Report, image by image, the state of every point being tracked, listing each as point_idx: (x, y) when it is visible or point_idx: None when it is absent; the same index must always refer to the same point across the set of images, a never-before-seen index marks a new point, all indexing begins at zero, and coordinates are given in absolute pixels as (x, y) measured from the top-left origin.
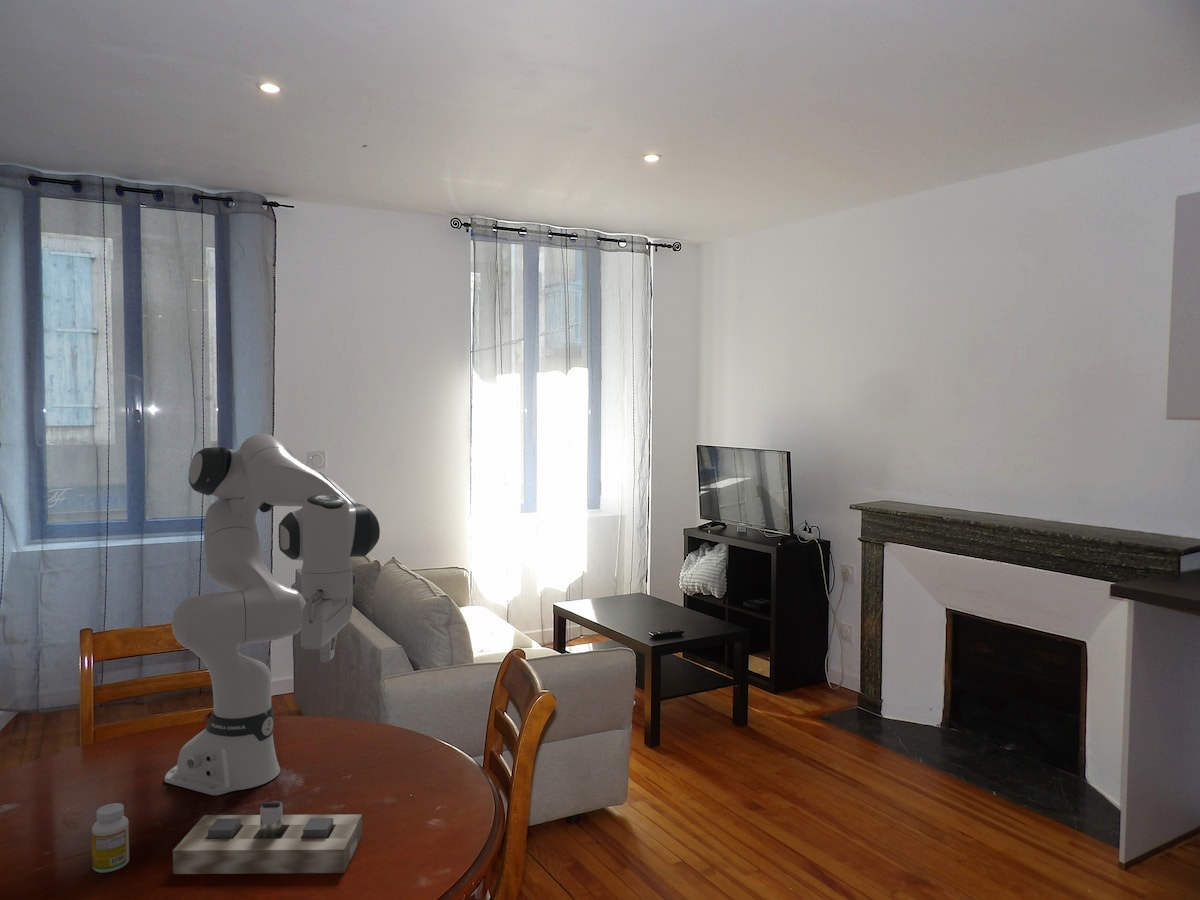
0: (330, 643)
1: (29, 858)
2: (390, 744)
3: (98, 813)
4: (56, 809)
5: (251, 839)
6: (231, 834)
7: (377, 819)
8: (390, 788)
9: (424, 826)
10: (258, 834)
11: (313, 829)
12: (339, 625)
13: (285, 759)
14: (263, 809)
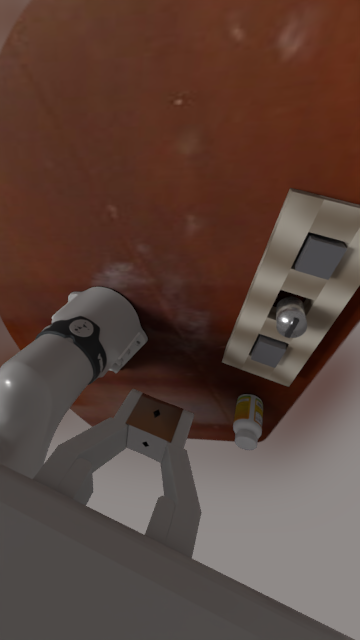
0: (104, 448)
1: (221, 433)
2: (20, 148)
3: (252, 449)
4: None
5: None
6: (285, 347)
7: (246, 163)
8: (152, 143)
9: (302, 65)
10: None
11: (335, 267)
12: (20, 547)
13: (73, 280)
14: (297, 335)
